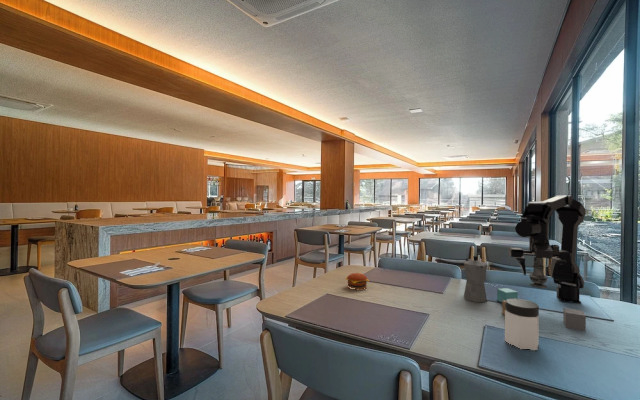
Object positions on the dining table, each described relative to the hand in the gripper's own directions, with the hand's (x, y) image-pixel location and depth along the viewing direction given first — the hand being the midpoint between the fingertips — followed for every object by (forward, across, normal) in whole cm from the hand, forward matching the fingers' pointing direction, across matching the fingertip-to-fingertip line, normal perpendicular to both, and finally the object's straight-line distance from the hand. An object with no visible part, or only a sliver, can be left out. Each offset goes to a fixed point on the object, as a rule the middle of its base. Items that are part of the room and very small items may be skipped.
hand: (538, 276), depth 113 cm
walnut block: (+13, -10, -10) cm, 19 cm away
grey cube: (+13, +7, -12) cm, 19 cm away
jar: (+13, -12, -32) cm, 37 cm away
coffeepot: (+13, -21, +7) cm, 26 cm away
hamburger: (+13, -71, +3) cm, 72 cm away
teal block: (+13, -9, +6) cm, 17 cm away
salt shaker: (+4, 0, 0) cm, 4 cm away
